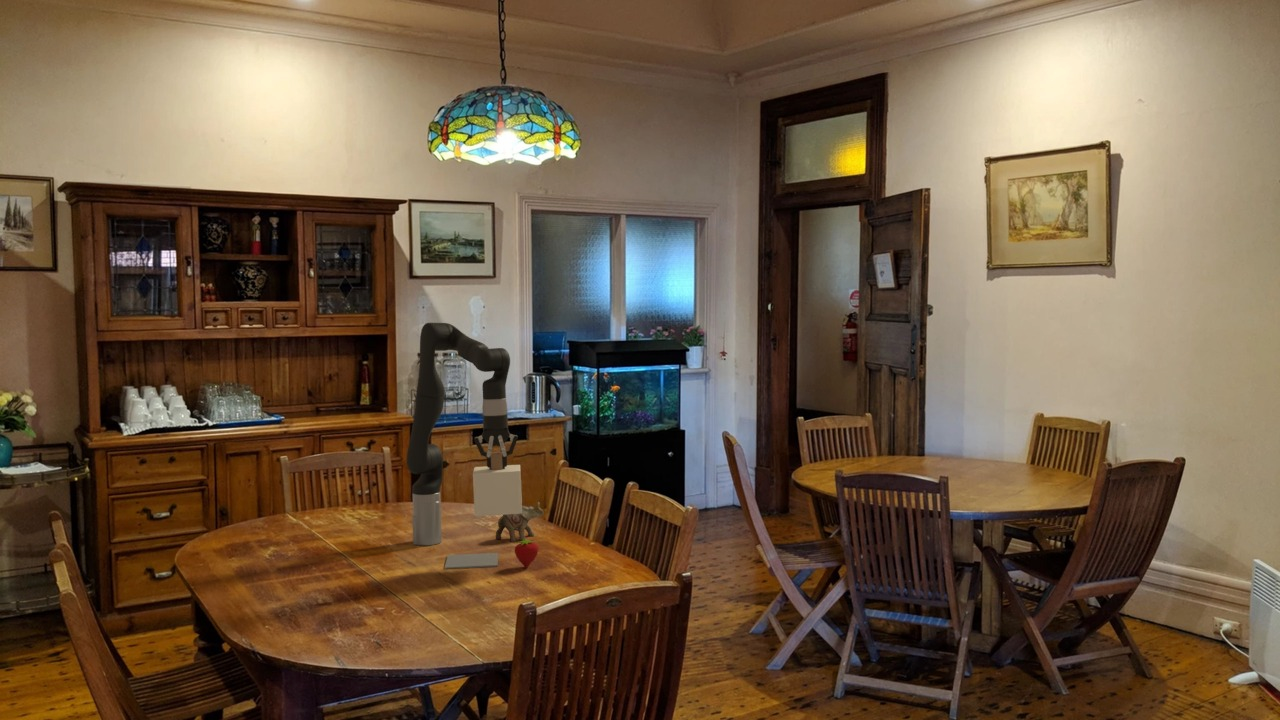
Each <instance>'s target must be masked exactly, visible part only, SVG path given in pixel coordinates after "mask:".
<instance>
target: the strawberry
mask: <svg viewBox="0 0 1280 720" xmlns="http://www.w3.org/2000/svg"><path fill="white" fill-rule="evenodd" d="M516 543H517V544H516V546H515V548H514V553H515V557H516V558H517V560H518V561H519V562H520V563H521V564H522V566H523V567H524V568H528V567H529V566H530V565H531V564H532V562H533V561H534V560H535V559H536V558H537V556H538V553H539V550H540V549H539V545H538V544H537V543H535V542H534V539H530V540H529V539H526V537H525V538H524V540H520V541H516Z"/></svg>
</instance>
